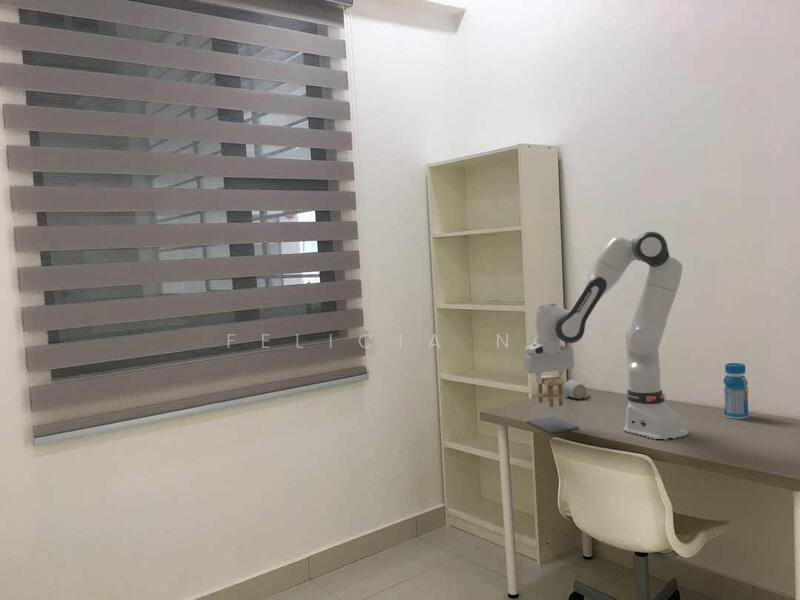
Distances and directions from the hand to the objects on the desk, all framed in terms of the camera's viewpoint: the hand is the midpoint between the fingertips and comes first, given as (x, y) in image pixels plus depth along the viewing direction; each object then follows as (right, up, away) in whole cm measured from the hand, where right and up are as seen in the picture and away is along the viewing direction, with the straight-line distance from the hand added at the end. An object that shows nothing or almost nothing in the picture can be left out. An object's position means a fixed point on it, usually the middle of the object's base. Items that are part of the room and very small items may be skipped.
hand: (549, 382), depth 245 cm
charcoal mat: (+1, -17, +1) cm, 17 cm away
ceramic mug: (+23, -13, +45) cm, 52 cm away
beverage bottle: (+70, -13, -2) cm, 71 cm away
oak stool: (0, -8, +1) cm, 8 cm away
